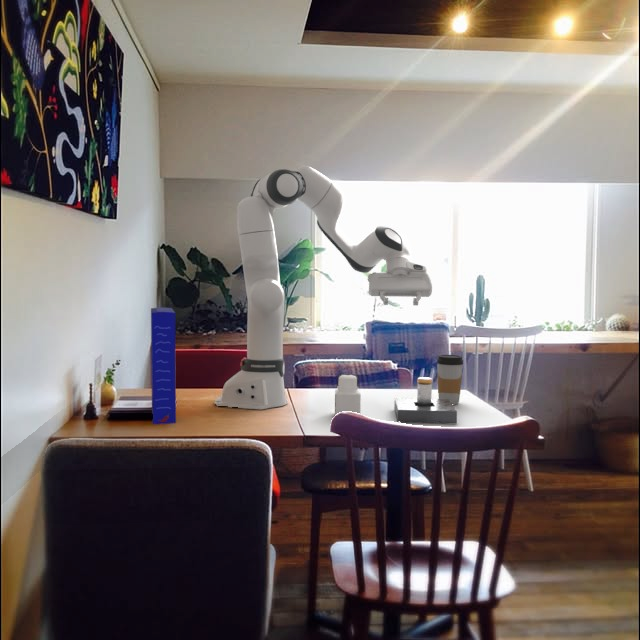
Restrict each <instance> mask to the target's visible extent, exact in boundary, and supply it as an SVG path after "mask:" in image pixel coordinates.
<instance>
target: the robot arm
mask: <svg viewBox="0 0 640 640" xmlns="http://www.w3.org/2000/svg"><path fill="white" fill-rule="evenodd" d="M344 194H345V193H344V192H343V190H342V189H341V188H340V187H339V186H338V185H337V184H336V183H335V182H333V181H332V180H331V179H330V178H328V177H327V176H326V175H324V174H323V173H321V172H320V171H318V170H316V169H315V168H313V167H311V166H309V165H300V166H299V167H298V168H296V169H295V170H290V169H276V170H274V171H273V172H269V173H267V174H265V175H263V176H262V177H261V178H260V179H258V180H257V181H256V183H255V184H254V186H253V188H252V192H251V194H250V196H247V197H245V198H243V199H241V201H239V203H238V204H237V210H236V223H237V234H238V241H239V247H240V248H239V249H240V254H241V255H240V256H241V262H242V269H243V276H244V277H243V278H244V284H245V292H246V298H247V321H246V322H247V324H246V325H247V327H246V329H247V331H246V335H247V336H246V346H247V347H246V356H247V357H243V358H242V359H241V361H240V369H241V370H239V371H238V372H236V373H235V374H234V375H233V376H231V377H230V378H229V379H228V380H226V382H225V383H224V385H223V388H222V392H221V396H219V397H217V398H215V400H214V405H215V404H216V405H217V406H216V407H218V406H228V407H227V408H232V407H238V408H237V409H246V410H247V409H249V410H266V409H270V408H271V409H272V408H278V407H283V406H285V405H287V404H288V399H287V395H286V389H285V382H284V376H285V368H286V367H285V358H284V355H283V354H284V353H283V352H284V351H283V350H284V347H283V346H284V339H283V338H284V324H285V323H284V322H285V321H284V320H285V299H286V297H285V291H284V288H283V287H282V284H281V278H280V267H279V265H280V264H279V255H278V248H277V239H276V234H275V225H274V221H273V220H274V212H275V211H276V210H279V209H283V208H285V207H287V206H289V205H292V204H293V203H295V202H296V201H299V202H301V203H303V204H304V205H305V206H306V207H308V208H309V209H310V210H311V211H312V212H313V214H314V215H315V216H316V219H317V220H316V224H317V226H318V228H319V230H320V231H321V232H322V233H323V234H324V236H325V237H326V239H328V240H329V242H330V243H331V244H332V245H333V246H334V247H335V248H336V250H338V251H339V252H340V253H341V254H342V256H343V257H344V258H345V260H346V261H347V263H348V264H349V265H350V266H351V268H352V269H353V270H354V271H355V272H359V273H366V274H368V273H369V272H371V271H372V270H373V269H374V268H375V267H376V266H377V265H378V264H379V263H380V262H381V261H383V260H384V261H385V262H386V263H385V272H376V271H375V272H374V271H373V272H372V273H369V274H368V275H367V282H368V283H369V284H368V294H369V296H370V297H379V298H380V300H381V301H382V302H383V306H389V298H388V297H406V298H408V297H411V298H413V299H412V300H413V301H412V304H413V306H419V301H420V300H421V298H429V297H431V295H432V292H433V284H432V280H431V277H430V275H429V274H428V273H427V266H425V265H422V264H418V263H414V262H412V259H413V257H412V255H413V254H412V249H411V244H410V241H409V240H408V238H407V236H406V235H405V234H403V233H400V232H396V231H395V230H394V229H392V228H391V227H387V226H382V225H381V226H379V225H378V226H376V227H375V228H374V229H372V231H370V232H368V234H367V235H366V236H365V237H363V238H362V239H361V240H360V241H359V242H356V243H354V242H353V241H352V240H351V239H350V238H349V237H348V236H347V235H346V233H344V231H343V230H342V229H341V228H340V226H339V220H340V218H341V216H342V213H343V210H344V207H345V203H346V200H345V195H344Z"/></svg>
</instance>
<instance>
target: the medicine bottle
mask: <svg viewBox="0 0 640 640" xmlns="http://www.w3.org/2000/svg"><path fill="white" fill-rule="evenodd" d="M336 379H337V381H336V382H337V384H336V387H337V388H336V389H335V390H334V415H335V414H337V413H339V412H342V411H352V412H357V413H360V414H361V401H362V399H361V390H360V389H359V376H358V375H356V374H354V373H341V374H339V375H337V377H336Z"/></svg>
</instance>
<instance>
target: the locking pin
mask: <svg viewBox="0 0 640 640" xmlns="http://www.w3.org/2000/svg"><path fill="white" fill-rule="evenodd" d="M432 386H433V378H432V377H426V376H424V377H421V376H419V377H417V390H416V391H417V393H416V396H417V398H416V399H417V406H430V407H431V399H432V395H433V394H432V392H433V391H432V389H433V387H432Z"/></svg>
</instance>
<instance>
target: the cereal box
mask: <svg viewBox="0 0 640 640" xmlns="http://www.w3.org/2000/svg"><path fill="white" fill-rule="evenodd" d="M150 327H151V328H150V330H151V331H150V341H151V342H150V348H151V349H150V351H151V354H150V355H151V360H150V361H151V366H150V368H151V370H150V371H151V415H152V414H153V419H152V424H153V425H160V424H161V425H163V424H164V425H165V424H176V422H177V417H176V416H177V412H176V409H177V407H176V405H177V404H176V403H177V401H176V398H177V396H176V393H177V391H176V389H177V388H176V383H177V382H176V374H177V373H176V370H177V369H176V365H177V364H176V362H177V361H176V312H175V311H174V309H173V308H172V307H151V308H150Z"/></svg>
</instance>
